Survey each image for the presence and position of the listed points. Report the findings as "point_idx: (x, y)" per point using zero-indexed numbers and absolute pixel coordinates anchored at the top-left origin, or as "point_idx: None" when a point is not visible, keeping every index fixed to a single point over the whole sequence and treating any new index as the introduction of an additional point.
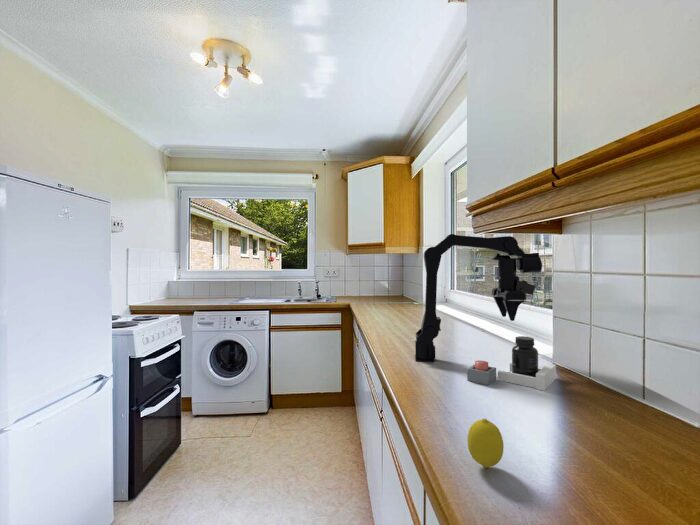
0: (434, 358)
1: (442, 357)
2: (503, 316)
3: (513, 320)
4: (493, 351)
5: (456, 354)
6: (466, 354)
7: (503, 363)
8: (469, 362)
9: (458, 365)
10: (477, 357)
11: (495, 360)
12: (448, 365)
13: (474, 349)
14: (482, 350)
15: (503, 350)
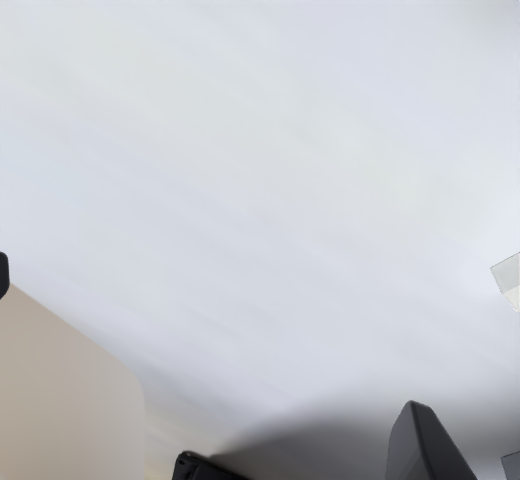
0: (230, 478)
1: (189, 422)
2: (8, 283)
3: (428, 416)
4: (68, 122)
5: (139, 346)
6: (139, 304)
7: (336, 221)
8: (285, 368)
9: (324, 433)
10: (198, 285)
11: (268, 228)
12: (316, 464)
13: (33, 210)
14: (51, 177)
15: (37, 35)
